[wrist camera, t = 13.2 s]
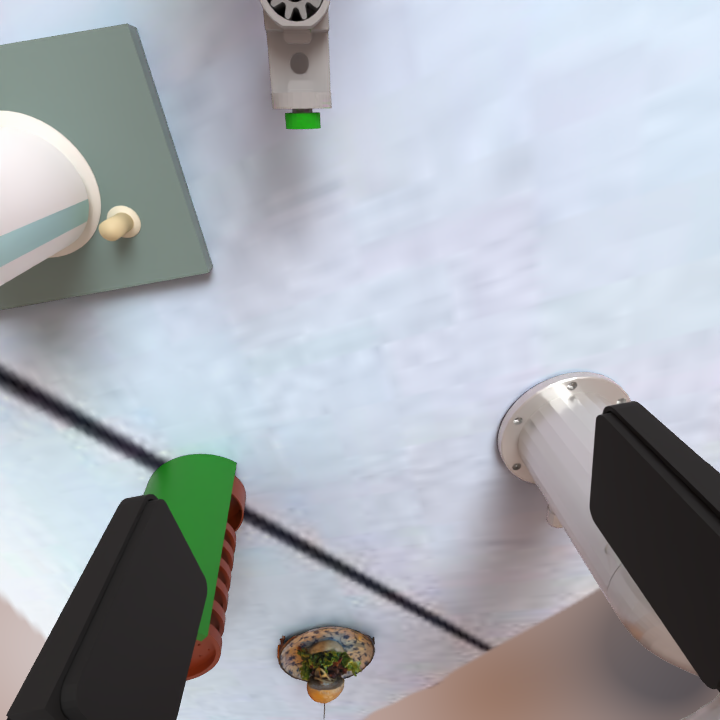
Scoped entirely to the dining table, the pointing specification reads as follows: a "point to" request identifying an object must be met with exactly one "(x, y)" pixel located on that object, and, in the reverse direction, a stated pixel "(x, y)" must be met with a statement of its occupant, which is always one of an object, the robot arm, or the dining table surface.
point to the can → (36, 202)
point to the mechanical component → (298, 58)
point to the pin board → (103, 164)
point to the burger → (325, 659)
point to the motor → (205, 535)
